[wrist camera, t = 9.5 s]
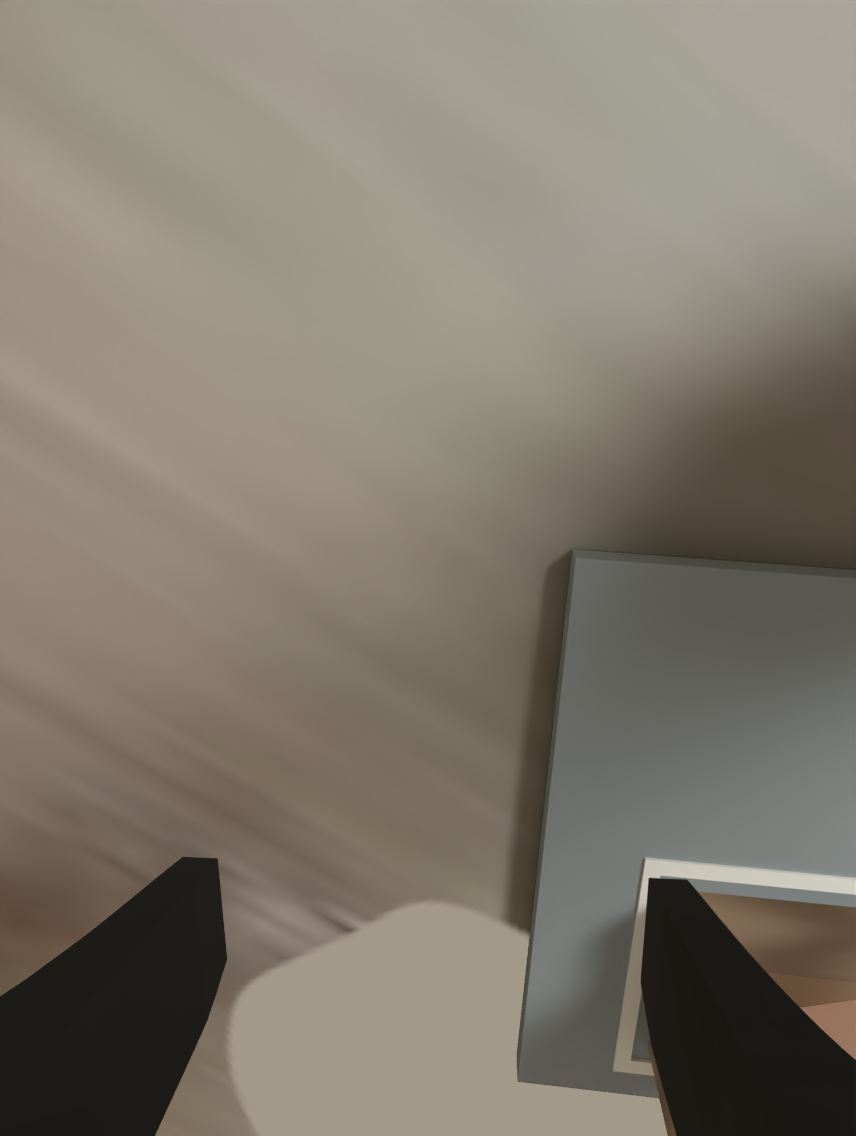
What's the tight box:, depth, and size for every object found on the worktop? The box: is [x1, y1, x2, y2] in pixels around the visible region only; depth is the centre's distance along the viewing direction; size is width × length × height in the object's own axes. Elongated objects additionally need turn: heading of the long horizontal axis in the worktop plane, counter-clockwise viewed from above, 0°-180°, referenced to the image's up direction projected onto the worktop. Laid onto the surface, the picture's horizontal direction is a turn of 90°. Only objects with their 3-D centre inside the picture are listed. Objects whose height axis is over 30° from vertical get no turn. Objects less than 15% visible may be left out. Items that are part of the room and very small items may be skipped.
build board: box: [517, 549, 856, 1098], centre depth 23 cm, size 12×18×1 cm, turn 177°
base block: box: [648, 892, 856, 1136], centre depth 22 cm, size 6×6×3 cm
